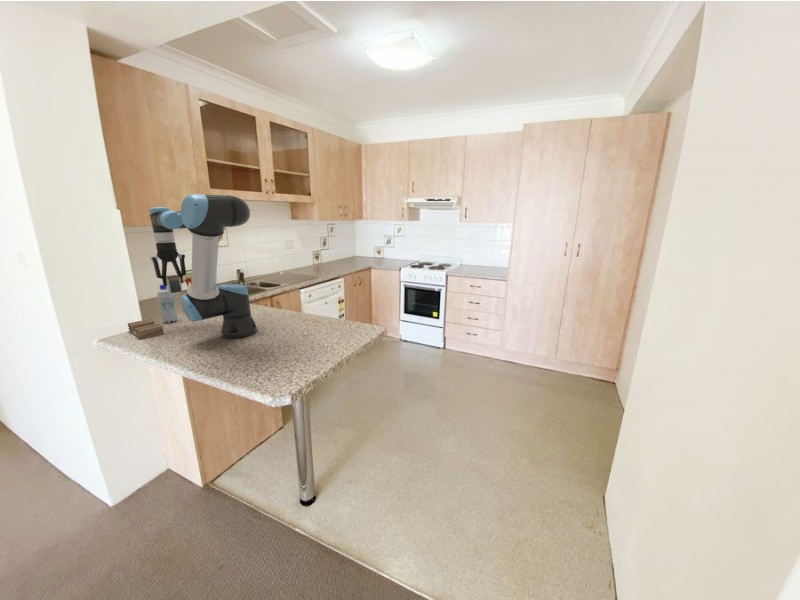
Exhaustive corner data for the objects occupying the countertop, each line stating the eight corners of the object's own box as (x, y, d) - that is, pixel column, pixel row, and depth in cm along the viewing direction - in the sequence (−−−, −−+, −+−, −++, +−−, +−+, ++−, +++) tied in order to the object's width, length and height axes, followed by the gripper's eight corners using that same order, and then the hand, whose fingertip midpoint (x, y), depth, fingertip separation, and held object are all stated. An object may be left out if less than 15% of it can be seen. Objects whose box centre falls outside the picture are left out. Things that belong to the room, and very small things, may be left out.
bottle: (164, 320, 172) (156, 283, 167) (179, 319, 174) (172, 282, 169) (161, 324, 166) (153, 286, 161) (176, 322, 168) (169, 284, 163)
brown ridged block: (164, 334, 152) (162, 326, 151) (140, 339, 145) (138, 331, 144) (151, 326, 163) (150, 318, 162) (129, 331, 156) (127, 323, 155)
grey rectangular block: (181, 291, 157) (178, 275, 155) (171, 293, 153) (168, 276, 151) (178, 290, 159) (175, 274, 157) (168, 292, 156) (165, 275, 154)
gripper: (183, 240, 159) (191, 287, 165) (140, 243, 146) (150, 293, 152) (189, 241, 155) (197, 288, 160) (145, 243, 142) (156, 295, 147)
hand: (174, 291), depth 156 cm, fingers closed on grey rectangular block, 4 cm apart
